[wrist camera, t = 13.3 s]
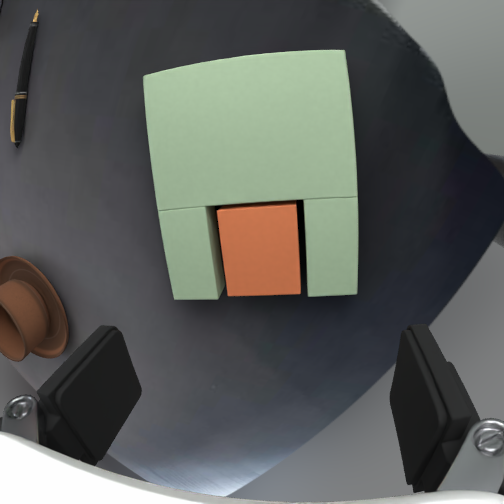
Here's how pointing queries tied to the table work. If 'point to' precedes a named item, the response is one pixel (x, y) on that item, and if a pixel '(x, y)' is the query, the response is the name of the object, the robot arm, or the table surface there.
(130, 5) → the table surface
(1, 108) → the table surface
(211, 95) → the base pad
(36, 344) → the cup and saucer
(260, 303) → the table surface
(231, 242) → the orange block
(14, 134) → the fountain pen
